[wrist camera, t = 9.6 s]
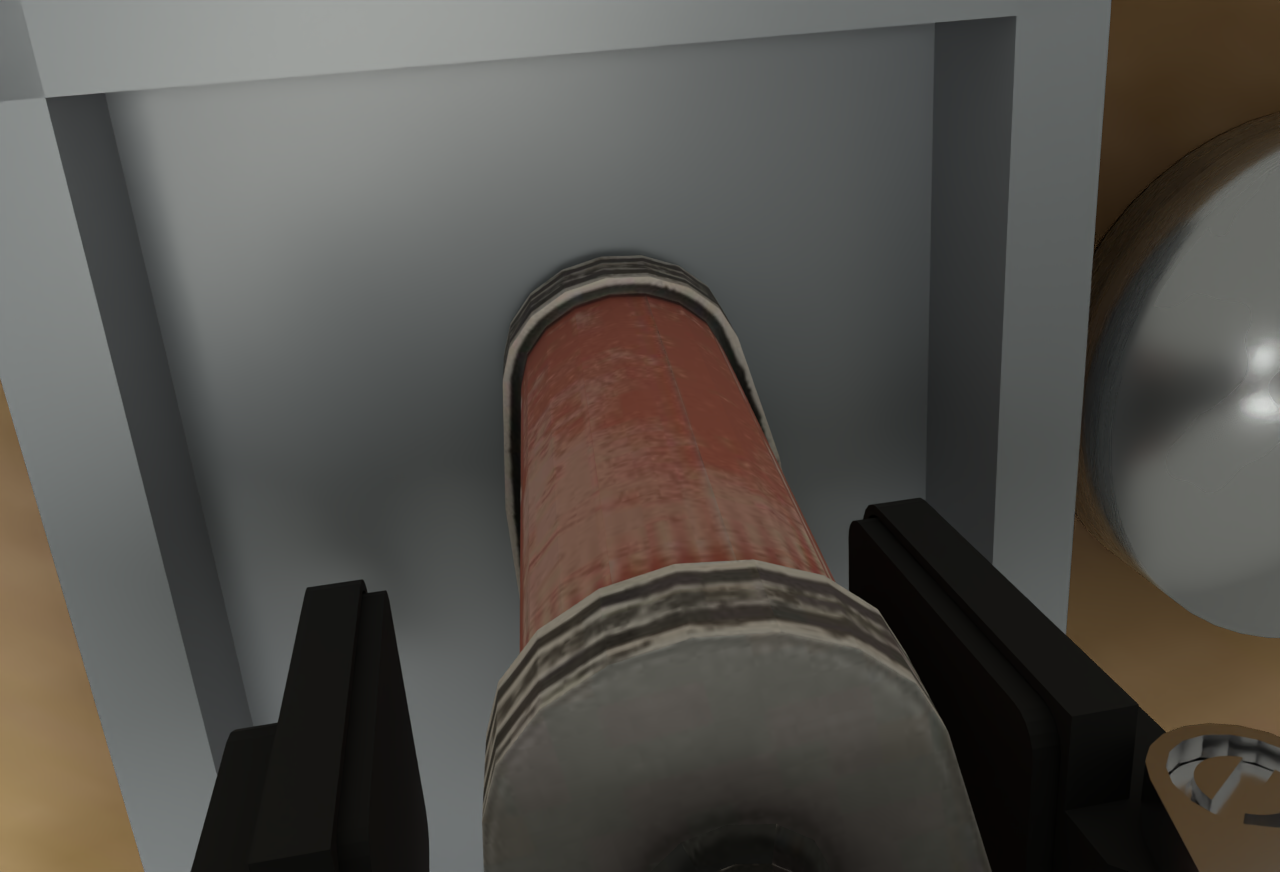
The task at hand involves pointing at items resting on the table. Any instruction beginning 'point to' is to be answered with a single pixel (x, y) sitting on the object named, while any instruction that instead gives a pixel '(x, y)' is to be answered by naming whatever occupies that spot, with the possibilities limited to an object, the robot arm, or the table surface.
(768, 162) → the tray
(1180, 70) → the table surface
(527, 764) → the lighter
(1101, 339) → the pot lid
